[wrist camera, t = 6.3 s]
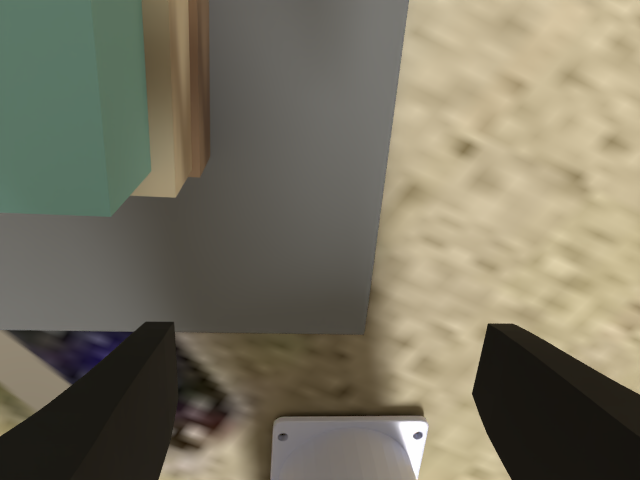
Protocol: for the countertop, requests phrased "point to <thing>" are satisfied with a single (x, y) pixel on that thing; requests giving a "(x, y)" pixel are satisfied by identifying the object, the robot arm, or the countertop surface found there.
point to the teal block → (72, 106)
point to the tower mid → (167, 96)
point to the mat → (240, 192)
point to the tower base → (199, 84)
